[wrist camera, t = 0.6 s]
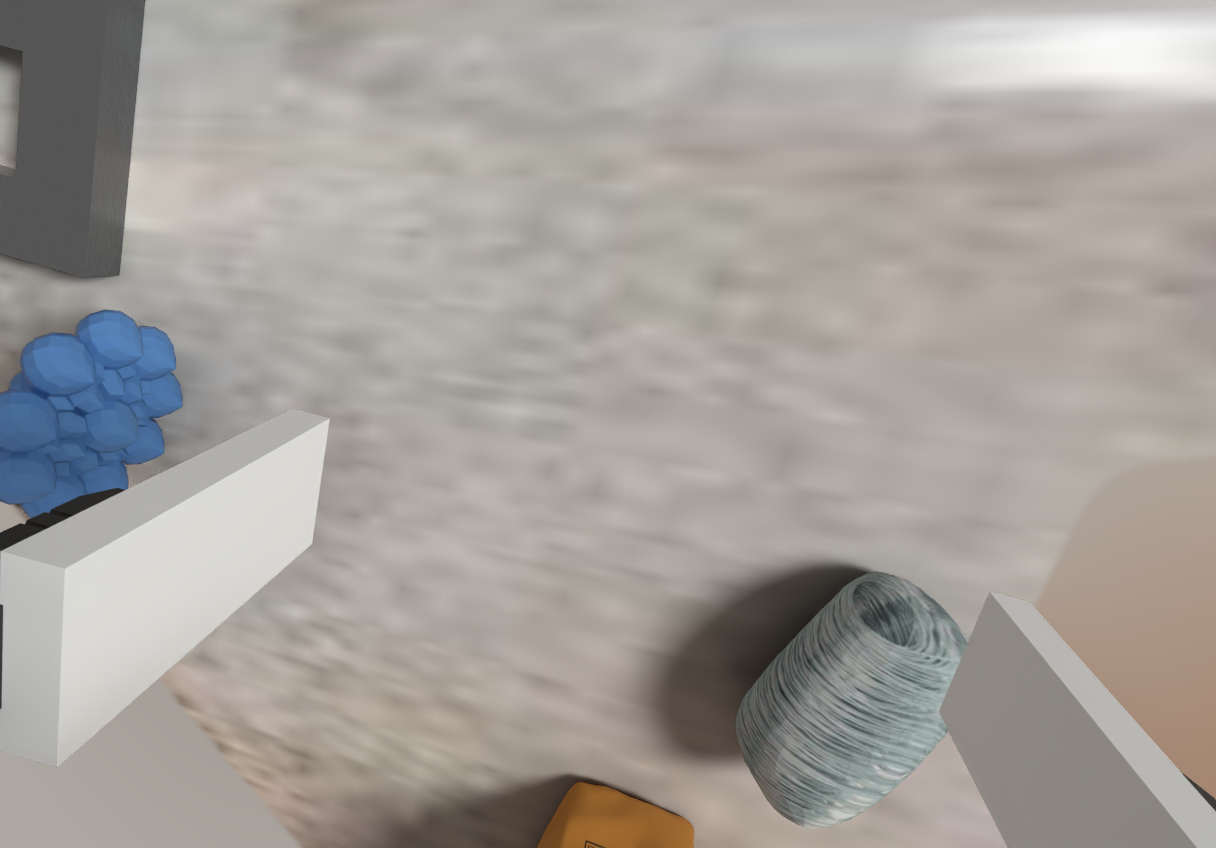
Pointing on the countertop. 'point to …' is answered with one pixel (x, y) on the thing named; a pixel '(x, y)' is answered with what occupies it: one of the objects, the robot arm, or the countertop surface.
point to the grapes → (84, 410)
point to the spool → (851, 701)
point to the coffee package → (613, 822)
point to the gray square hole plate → (71, 132)
